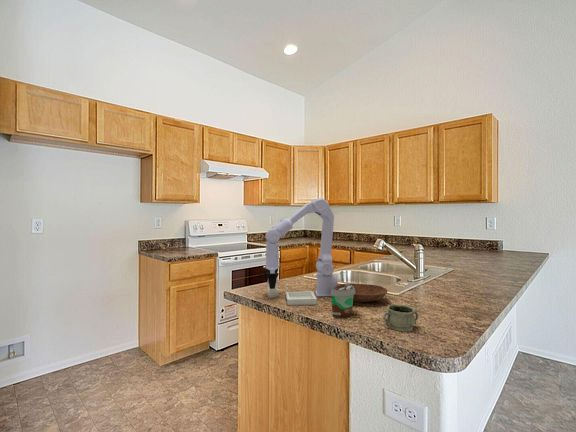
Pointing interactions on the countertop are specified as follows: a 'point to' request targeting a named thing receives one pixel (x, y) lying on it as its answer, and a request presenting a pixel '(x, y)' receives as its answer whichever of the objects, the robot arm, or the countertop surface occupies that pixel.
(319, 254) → the robot arm
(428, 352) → the countertop surface
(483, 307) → the countertop surface
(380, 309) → the countertop surface
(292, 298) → the tray
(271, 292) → the shaker
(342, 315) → the food container
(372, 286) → the bowl
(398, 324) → the vessel
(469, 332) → the countertop surface
